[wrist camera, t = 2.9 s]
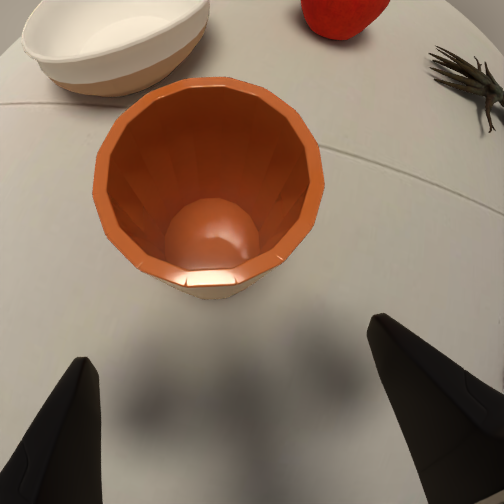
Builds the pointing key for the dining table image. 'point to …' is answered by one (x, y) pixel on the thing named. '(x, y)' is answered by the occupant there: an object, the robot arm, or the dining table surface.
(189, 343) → the dining table surface
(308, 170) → the cup
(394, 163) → the dining table surface
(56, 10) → the bowl
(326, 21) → the apple
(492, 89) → the figurine
